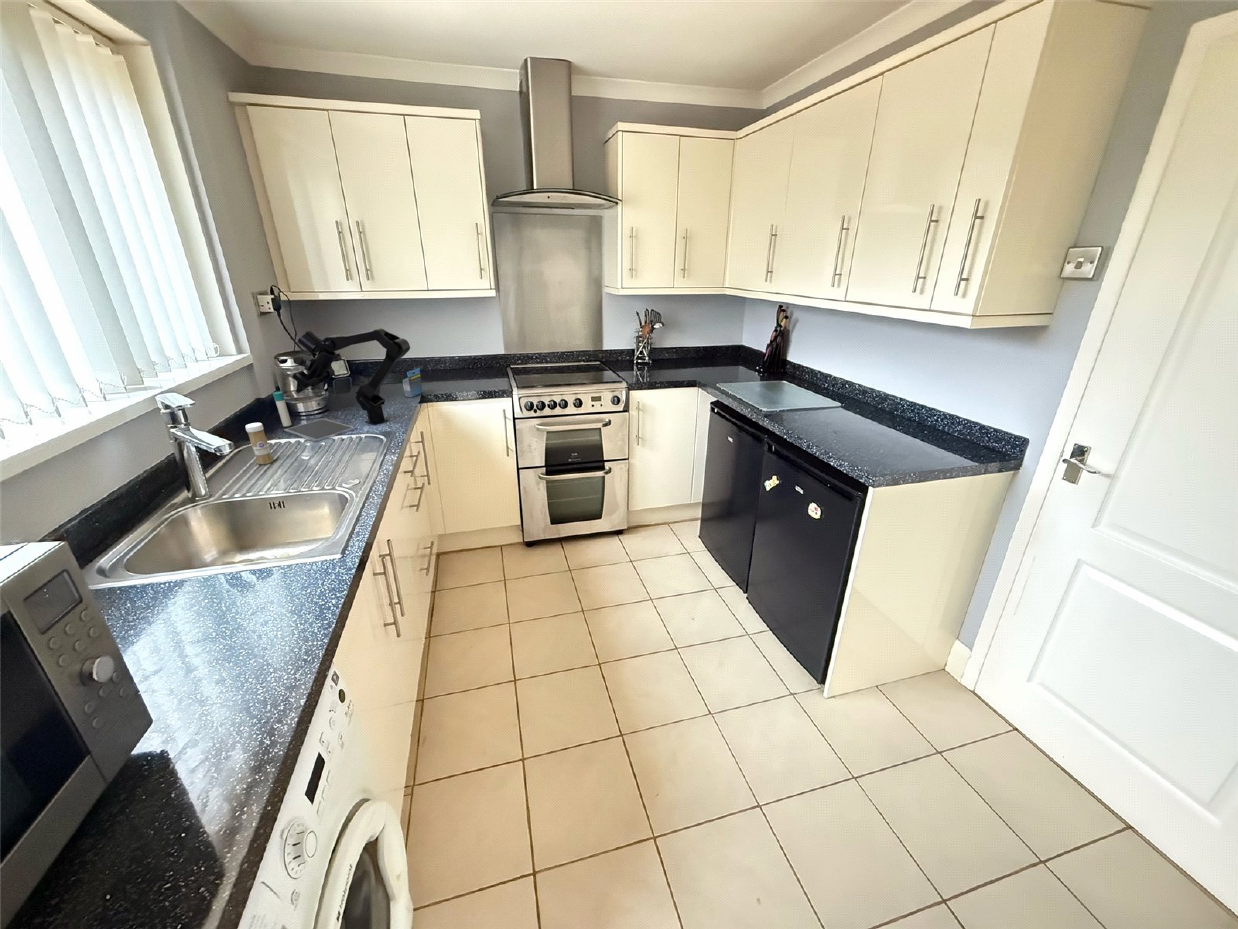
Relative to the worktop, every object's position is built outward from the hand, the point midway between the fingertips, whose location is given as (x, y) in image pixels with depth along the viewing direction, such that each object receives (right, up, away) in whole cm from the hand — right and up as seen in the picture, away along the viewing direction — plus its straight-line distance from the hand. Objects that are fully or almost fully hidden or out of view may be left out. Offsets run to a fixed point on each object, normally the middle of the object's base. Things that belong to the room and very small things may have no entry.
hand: (304, 389), depth 198 cm
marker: (-6, -15, -1) cm, 16 cm away
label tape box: (+28, +3, +40) cm, 49 cm away
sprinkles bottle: (+8, -30, -33) cm, 45 cm away
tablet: (+9, -17, -5) cm, 20 cm away
